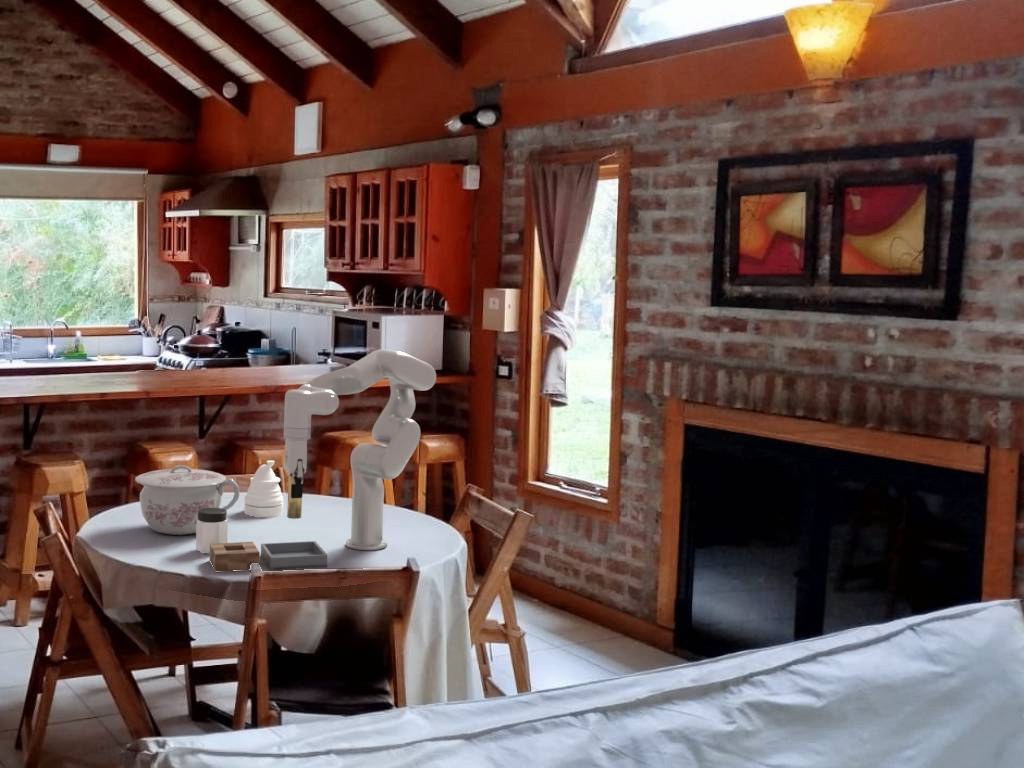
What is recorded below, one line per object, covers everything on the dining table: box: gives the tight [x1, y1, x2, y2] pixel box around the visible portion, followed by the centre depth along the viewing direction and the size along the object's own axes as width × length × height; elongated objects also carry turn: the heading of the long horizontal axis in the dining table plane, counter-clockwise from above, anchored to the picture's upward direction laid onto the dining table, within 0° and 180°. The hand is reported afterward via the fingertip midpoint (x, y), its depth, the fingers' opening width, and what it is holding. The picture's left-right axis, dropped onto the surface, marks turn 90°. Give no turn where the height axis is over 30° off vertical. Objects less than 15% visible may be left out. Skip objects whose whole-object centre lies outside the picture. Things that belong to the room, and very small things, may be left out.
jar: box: [195, 507, 229, 554], centre depth 339 cm, size 9×8×12 cm
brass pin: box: [286, 474, 303, 520], centre depth 331 cm, size 4×4×12 cm
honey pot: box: [243, 460, 284, 519], centre depth 389 cm, size 13×13×18 cm
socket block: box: [209, 541, 261, 572], centre depth 325 cm, size 12×12×5 cm
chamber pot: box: [134, 464, 241, 536], centre depth 360 cm, size 28×28×21 cm
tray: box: [260, 540, 329, 571], centre depth 333 cm, size 16×16×4 cm
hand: (294, 495), depth 331 cm, fingers closed on brass pin, 4 cm apart
